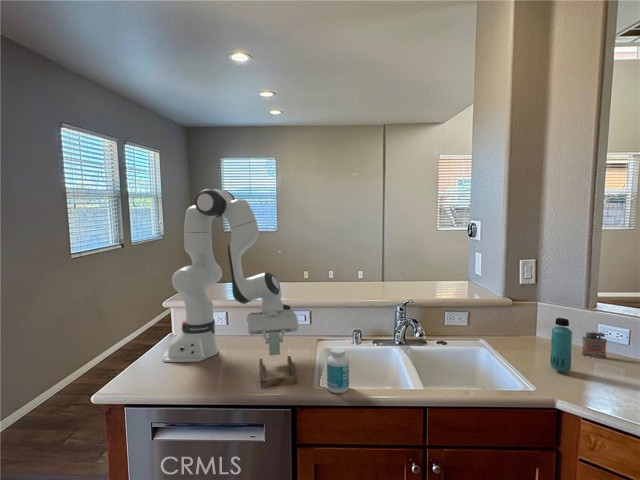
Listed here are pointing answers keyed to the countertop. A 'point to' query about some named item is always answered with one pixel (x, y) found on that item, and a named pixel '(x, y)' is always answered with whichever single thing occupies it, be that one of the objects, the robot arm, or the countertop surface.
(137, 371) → the countertop surface
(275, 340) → the sage block
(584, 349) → the lighter
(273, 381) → the walnut lane
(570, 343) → the beverage bottle
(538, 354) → the countertop surface
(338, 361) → the pill bottle
